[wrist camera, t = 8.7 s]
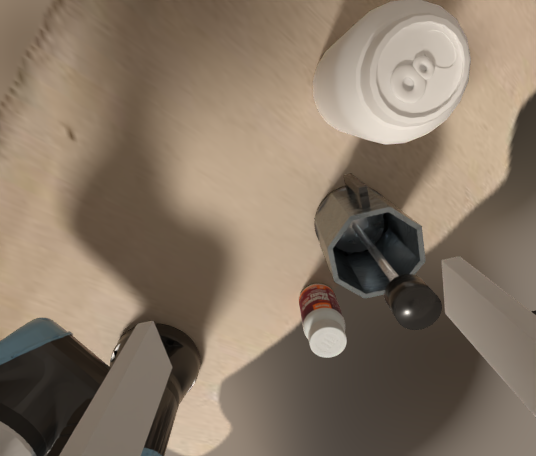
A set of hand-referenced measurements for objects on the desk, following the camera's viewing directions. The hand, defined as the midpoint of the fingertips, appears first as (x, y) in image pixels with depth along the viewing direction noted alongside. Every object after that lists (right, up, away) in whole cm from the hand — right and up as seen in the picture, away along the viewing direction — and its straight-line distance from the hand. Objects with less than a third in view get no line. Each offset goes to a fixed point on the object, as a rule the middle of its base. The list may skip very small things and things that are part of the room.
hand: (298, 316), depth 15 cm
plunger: (+12, +4, +36) cm, 38 cm away
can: (+11, +23, +31) cm, 40 cm away
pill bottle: (+7, -8, +42) cm, 43 cm away
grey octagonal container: (+11, +6, +37) cm, 39 cm away
